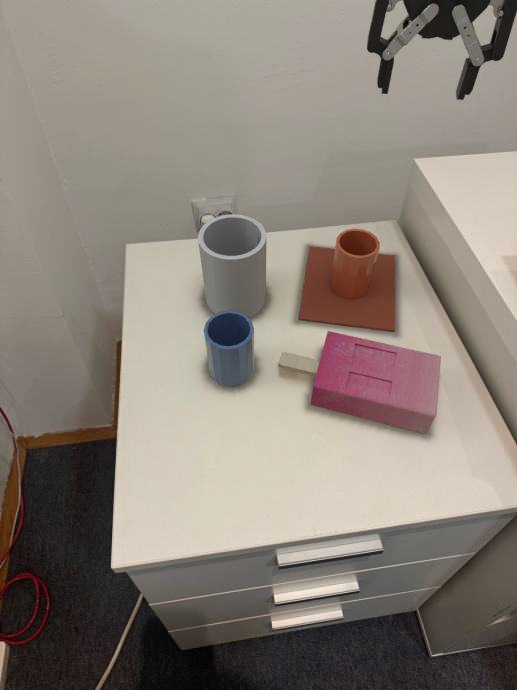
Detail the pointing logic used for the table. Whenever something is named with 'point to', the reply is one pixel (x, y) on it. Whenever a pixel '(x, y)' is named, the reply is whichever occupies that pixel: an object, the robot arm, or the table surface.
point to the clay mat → (333, 309)
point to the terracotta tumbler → (354, 263)
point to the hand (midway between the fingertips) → (421, 94)
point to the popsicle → (372, 380)
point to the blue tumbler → (230, 347)
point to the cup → (233, 263)
